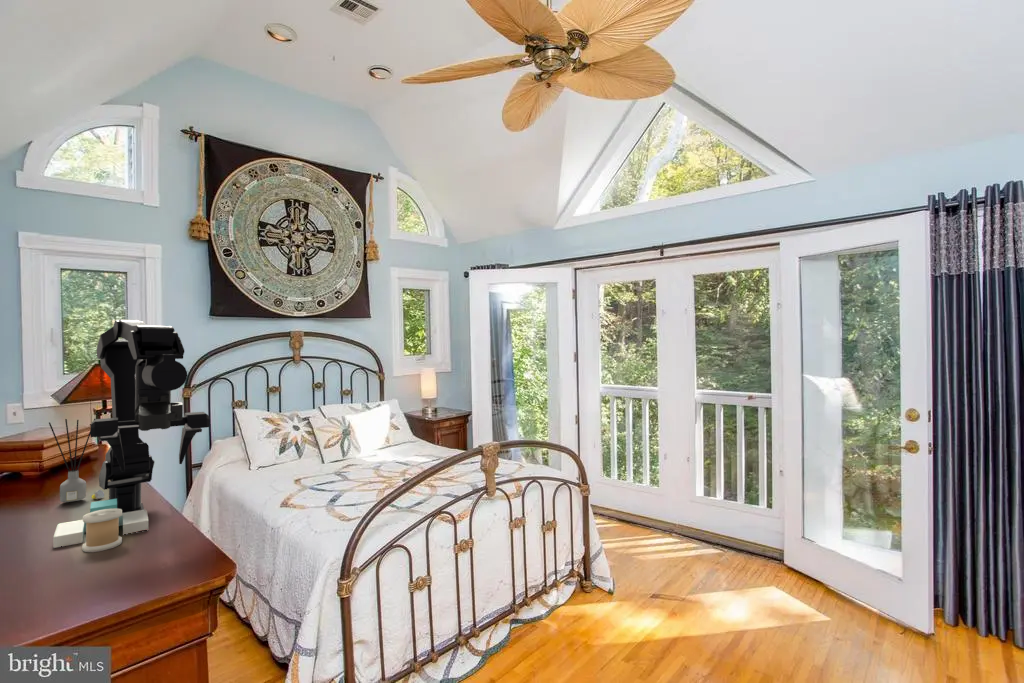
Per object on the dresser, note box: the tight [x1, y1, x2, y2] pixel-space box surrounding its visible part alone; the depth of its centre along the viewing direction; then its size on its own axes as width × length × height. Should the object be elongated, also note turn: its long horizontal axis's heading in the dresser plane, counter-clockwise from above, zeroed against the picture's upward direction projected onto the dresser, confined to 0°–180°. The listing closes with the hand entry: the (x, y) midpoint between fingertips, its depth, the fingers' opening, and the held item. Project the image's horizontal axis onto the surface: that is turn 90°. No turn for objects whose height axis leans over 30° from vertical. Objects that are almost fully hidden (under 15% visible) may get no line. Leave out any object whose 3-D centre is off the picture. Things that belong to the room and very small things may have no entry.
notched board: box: [52, 508, 149, 549], centre depth 98 cm, size 9×14×2 cm, turn 129°
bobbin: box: [81, 508, 123, 553], centre depth 91 cm, size 6×6×6 cm
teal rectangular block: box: [89, 499, 117, 513], centre depth 97 cm, size 5×4×6 cm
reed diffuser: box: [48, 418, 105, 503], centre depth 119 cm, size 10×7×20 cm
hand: (152, 467), depth 97 cm, fingers open, 9 cm apart
